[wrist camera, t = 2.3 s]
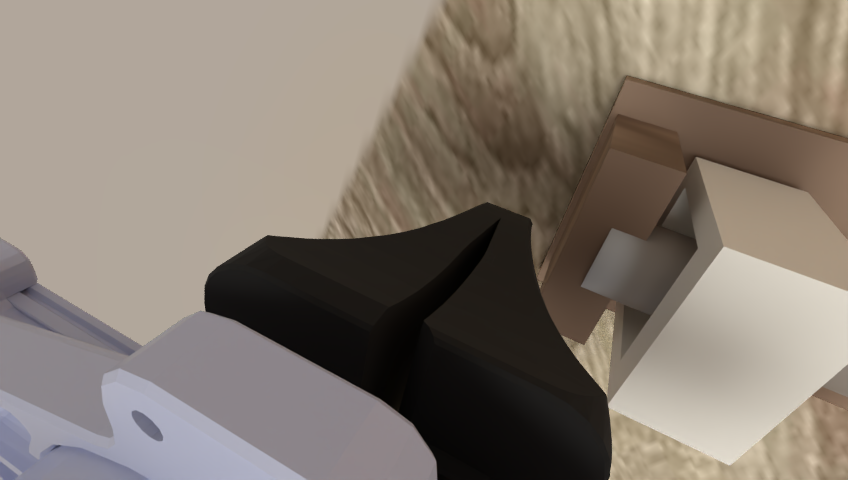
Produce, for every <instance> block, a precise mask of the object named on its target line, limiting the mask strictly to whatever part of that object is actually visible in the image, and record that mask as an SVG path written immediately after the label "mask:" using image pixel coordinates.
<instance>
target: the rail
mask: <svg viewBox="0 0 848 480" xmlns="http://www.w3.org/2000/svg"><path fill="white" fill-rule="evenodd" d="M695 157H698V158H702V159H705V160H708V161H711V162H714V163H717V164H720V165H724V166H727V167H730V168H733V169H736V170H739V171H742V172H745V173H749V174H752V175H755V176H758V177H761V178H764V179H767V180H771V181H774V182H777V183H780V184H783V185H786V186H789V187H793V188H796V189H799V190H802V191H805V192H808V193H809V194H810V195H811V196H812V198H813V199H814V200H815V201H816V202H817V204H818V205H819V206H820V207H821V209H822V210H823V211H824V212H825V213H826V215H827V216H828V217H829V218H830V219H831V221H832V222H833V223H834V224H835V226H836V227H837V228H838V229H839V230H840V232H841V233H842V234H843V235H844V236H845V238H846V239H847V240H848V138H844V137H841V136H837V135H834V134H830V133H827V132H823V131H820V130H816V129H813V128H809V127H806V126H802V125H799V124H795V123H792V122H788V121H785V120H781V119H778V118H774V117H771V116H767V115H764V114H760V113H757V112H753V111H750V110H746V109H743V108H739V107H736V106H732V105H729V104H725V103H722V102H718V101H715V100H711V99H708V98H704V97H701V96H697V95H694V94H690V93H687V92H683V91H680V90H676V89H673V88H669V87H666V86H662V85H658V84H655V83H651V82H648V81H644V80H641V79H637V78H634V77H630V76H627V77H626V79H625V81H624V83H623V85H622V88H621V90H620V92H619V94H618V97H617V99H616V101H615V103H614V106H613V108H612V110H611V112H610V114H609V117H608V119H607V121H606V123H605V126H604V128H603V130H602V132H601V135H600V137H599V139H598V141H597V143H596V146H595V148H594V150H593V152H592V155H591V157H590V159H589V161H588V164H587V166H586V168H585V170H584V173H583V175H582V177H581V179H580V181H579V184H578V186H577V188H576V190H575V193H574V195H573V197H572V199H571V202H570V204H569V206H568V208H567V210H566V213H565V215H564V217H563V219H562V222H561V224H560V226H559V228H558V231H557V233H556V235H555V237H554V239H553V242H552V244H551V246H550V248H549V251H548V253H547V255H546V257H545V260H544V262H543V264H542V266H541V268H540V271H539V274H538V276H537V280H540V281H542V282H543V283H542V286H541V288H540V292H541V295H542V297H543V300H544V302H545V305H546V308H547V310H548V312H549V314H550V316H551V318H552V320H553V322H554V324H555V326H556V328H557V329H558V331H559V333H560V334H561V335H563V336H565V337H567V338H570V339H572V340H574V341H576V342H579V343H581V344H583V345H584V344H585V342H586V341H587V339H588V337H589V336H590V334H591V332H592V331H593V329H594V327H595V326H596V324H597V322H598V321H599V319H600V317H601V316H602V314H603V312H604V311H605V309H608V310H611V311H613V312H615V309H616V301H617V302H619V303H622V304H624V305H627V306H629V307H631V308H634V309H636V310H639V311H641V312H643V313H646V314H648V315H651V316H652V314H653V313H654V311H655V310H656V308H657V307H658V305H659V304H660V303H661V301H662V300H663V298H664V297H665V295H666V294H667V292H668V291H669V290H670V288H671V287H672V285H673V284H674V282H675V281H676V279H677V278H678V277H679V275H680V274H681V272H682V271H683V269H684V268H685V266H686V265H687V264H688V262H689V261H690V259H691V258H692V256H693V255H694V253H695V252H696V251H697V249H698V246H697V242H696V239H694V238H692V237H689V236H686V235H683V234H681V233H678V232H675V231H672V230H670V229H667V228H664V227H661V226H659V225H656V224H657V223H658V221H659V219H660V218H661V216H662V214H663V213H664V211H665V209H666V208H667V206H668V204H669V203H670V201H671V199H672V198H673V196H674V194H675V193H676V191H677V189H678V188H679V186H680V184H681V183H682V181H683V179H684V178H685V176H686V174H687V170H688V169H689V167H690V165H691V164H692V162H693V160H694V159H695ZM812 396H815V397H817V398H819V399H822V400H824V401H827V402H829V403H831V404H834V405H836V406H838V407H841V408H843V409H846V410H848V365H846V366H845V367H844V368H843V369H842V370H841V371H839V372H838V373H837V374H836V375H835V376H834V377H832V378H831V379H830V380H829V381H828V382H827V383H825V384H824V385H823V386H822V387H821V388H820V389H819V390H817V391H816V392H815V393H814V394H813V395H812Z"/></svg>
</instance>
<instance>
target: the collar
mask: <svg viewBox="0 0 848 480" xmlns="http://www.w3.org/2000/svg"><path fill="white" fill-rule="evenodd" d="M656 225H659V226H661V227H664V228H667V229H670V230H672V231H675V232H678V233H681V234H683V235H686V236H689V237H692V238H694V239H696V242H697V246H698V249H697V251H696V252H695V253H694V255H693V256H692V258H691V259H690V261H689V262H688V264H687V265H686V266H685V268H684V269H683V271H682V272H681V274H680V275H679V277H678V278H677V279H676V281H675V282H674V284H673V285H672V287H671V288H670V290H669V291H668V292H667V294H666V295H665V297H664V298H663V300H662V301H661V303H660V304H659V305H658V307H657V308H656V310H655V311H654V313H653V314H652V316H651V315H648V314H646V313H643V312H641V311H639V310H636V309H634V308H631V307H629V306H627V305H624V304H622V303H619V302H617V301H616V309H615V320H614V330H613V341H612V352H611V362H610V373H609V383H608V394H607V401H608V408H610V409H612V410H614V411H616V412H618V413H621V414H623V415H625V416H627V417H629V418H631V419H633V420H635V421H637V422H639V423H642V424H644V425H646V426H648V427H650V428H652V429H654V430H656V431H658V432H660V433H662V434H665V435H667V436H669V437H671V438H673V439H675V440H677V441H679V442H681V443H683V444H686V445H688V446H690V447H692V448H694V449H696V450H698V451H700V452H702V453H704V454H706V455H709V456H711V457H713V458H715V459H717V460H719V461H721V462H723V463H725V464H727V465H731V464H732V463H734V462H735V461H736V460H737V459H738V458H739V457H741V456H742V455H743V454H744V453H745V452H746V451H748V450H749V449H750V448H751V447H752V446H753V445H755V444H756V443H757V442H758V441H759V440H760V439H762V438H763V437H764V436H765V435H766V434H767V433H769V432H770V431H771V430H772V429H773V428H774V427H775V426H777V425H778V424H779V423H780V422H781V421H782V420H784V419H785V418H786V417H787V416H788V415H789V414H791V413H792V412H793V411H794V410H795V409H796V408H798V407H799V406H800V405H801V404H802V403H803V402H805V401H806V400H807V399H808V398H809V397H810V396H812V395H813V394H814V393H815V392H816V391H817V390H819V389H820V388H821V387H822V386H823V385H824V384H825V383H827V382H828V381H829V380H830V379H831V378H832V377H834V376H835V375H836V374H837V373H838V372H839V371H841V370H842V369H843V368H844V367H845V366H846V365H848V240H847V239H846V238H845V236H844V235H843V234H842V233H841V232H840V230H839V229H838V228H837V227H836V226H835V224H834V223H833V222H832V221H831V219H830V218H829V217H828V216H827V215H826V213H825V212H824V211H823V210H822V209H821V207H820V206H819V205H818V204H817V202H816V201H815V200H814V199H813V198H812V196H811V195H810V194H809V193H808V192H805V191H802V190H799V189H796V188H793V187H789V186H786V185H783V184H780V183H777V182H774V181H771V180H767V179H764V178H761V177H758V176H755V175H752V174H749V173H745V172H742V171H739V170H736V169H733V168H730V167H727V166H724V165H720V164H717V163H714V162H711V161H708V160H705V159H702V158H698V157H695V159H694V160H693V162H692V164H691V165H690V167H689V169H688V170H687V174H686V176H685V178H684V179H683V181H682V183H681V184H680V186H679V188H678V189H677V191H676V193H675V194H674V196H673V198H672V199H671V201H670V203H669V204H668V206H667V208H666V209H665V211H664V213H663V214H662V216H661V218H660V219H659V221H658V223H657V224H656Z"/></svg>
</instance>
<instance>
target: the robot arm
mask: <svg viewBox="0 0 848 480" xmlns="http://www.w3.org/2000/svg"><path fill="white" fill-rule="evenodd" d="M532 225H533V224H532V222H531V219H529V218H527V217H524V216H522V215H519V214H516V213H514V212H511V211H509V210H506V209H504V208H501V207H498V206H496V205H493V204H491V203H488V202H486V203H484V204H481V205H479V206H477V207H474V208H472V209H470V210H468V211H465V212H463V213H461V214H458V215H456V216H453V217H451V218H448V219H446V220H443V221H440V222H437V223H434V224H431V225H428V226H425V227H422V228H418V229H414V230H410V231H406V232H401V233H396V234H391V235H384V236H375V237H365V238H355V239H304V238H292V237H280V236H270V235H267V236H266V237H264V238H262V239H260V240H259V241H257V242H256V243H254V244H253V245H251V246H249V247H248V248H246V249H245V250H243V251H242V252H240V253H238V254H237V255H235V256H234V257H232V258H231V259H229V260H227V261H226V262H224V263H223V264H221V265H220V266H218V267H217V268H216V269H215V270H214V271H212V272H211V273H210V274H209V276H208V279H207V281H206V284H205V310H206V312H204V311H199V312H196V313H194V314H192V315H190V316H188V317H185V318H183V319H182V320H180V321H179V322H177V323H176V324H174V325H173V326H171V327H170V328H169V329H167V330H166V331H164V332H163V333H161V334H160V335H159V336H157V337H156V338H154V339H153V340H152V341H150V342H149V343H147V344H146V345H144V346H141V345H139V344H138V343H136V342H135V341H133V340H131V339H130V338H128V337H126V336H125V335H123V334H121V333H120V332H118V331H116V330H115V329H113V328H111V327H110V326H108V325H106V324H105V323H103V322H101V321H100V320H98V319H97V318H95V317H93V316H91V315H90V314H88V313H87V312H85V311H83V310H82V309H80V308H78V307H77V306H75V305H73V304H72V303H70V302H68V301H67V300H65V299H63V298H62V297H60V296H58V295H57V294H55V293H53V292H52V291H50V290H48V289H47V288H45V287H43V286H42V285H40V284H38V283H37V276H36V273H35V271H34V268H33V266H32V264H31V262H30V260H29V259H28V258H27V257H26V255H25V254H24V253H23V252H22V251H21V250H19V249H18V248H16V247H15V246H13V245H11V244H10V243H8V242H6V241H5V240H3V239H1V238H0V480H608V479H609V477H610V468H611V460H612V438H611V426H610V417H609V408H608V401H607V396H606V394H605V393H604V391H603V390H602V389H601V388H600V387H599V385H598V384H597V383H596V382H595V381H594V379H593V378H592V377H591V376H590V375H589V373H588V372H587V371H586V370H585V369H584V367H583V366H582V365H581V364H580V363H579V361H578V360H577V359H576V357H575V356H574V354H573V353H572V351H571V350H570V349H569V347H568V346H567V344H566V343H565V341H564V340H563V338H562V336H561V335H560V333H559V331H558V329H557V328H556V326H555V324H554V322H553V320H552V318H551V316H550V314H549V312H548V310H547V308H546V305H545V302H544V300H543V297H542V295H541V292H540V289H539V285H538V282H537V278H536V274H535V269H534V264H533V258H532V251H531V227H532Z"/></svg>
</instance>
